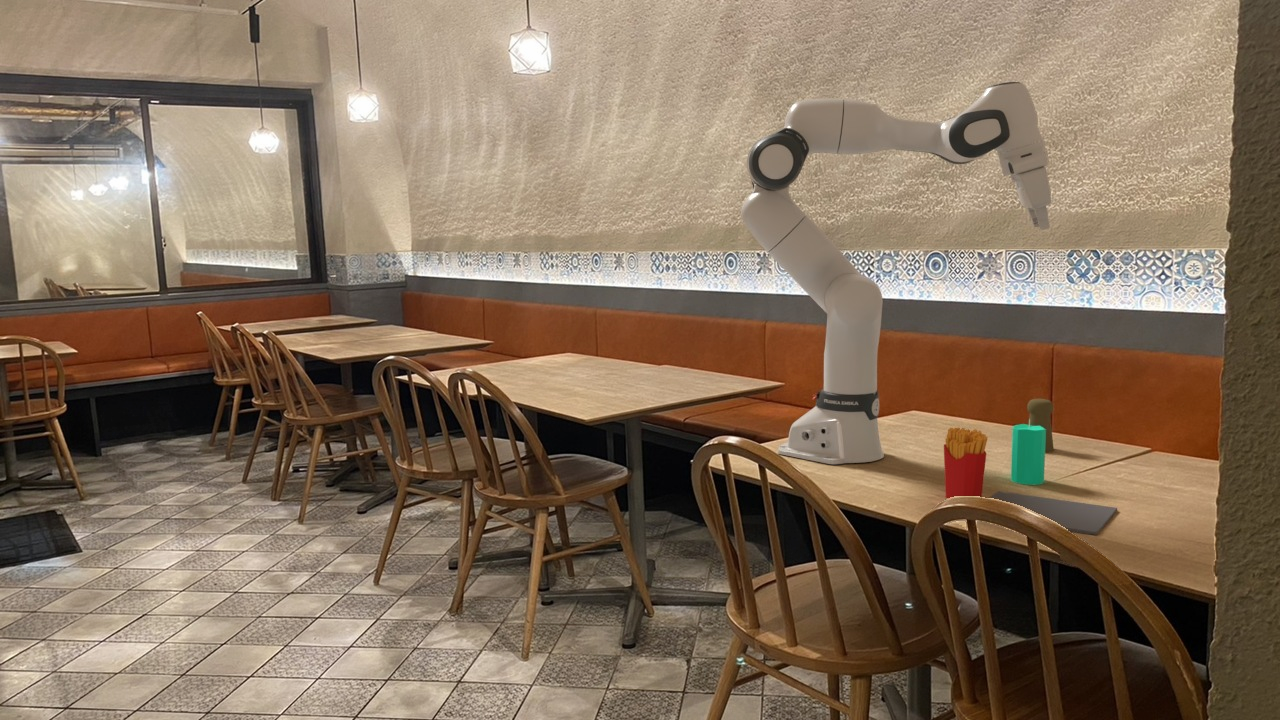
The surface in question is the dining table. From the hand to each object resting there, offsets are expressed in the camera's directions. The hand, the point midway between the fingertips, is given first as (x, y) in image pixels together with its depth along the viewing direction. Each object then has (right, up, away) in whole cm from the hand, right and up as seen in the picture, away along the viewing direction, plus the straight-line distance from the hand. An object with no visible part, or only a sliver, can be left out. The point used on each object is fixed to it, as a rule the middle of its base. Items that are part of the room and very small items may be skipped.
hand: (1041, 227), depth 200 cm
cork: (+5, -46, +15) cm, 49 cm away
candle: (-7, -50, -11) cm, 52 cm away
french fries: (-23, -52, -23) cm, 62 cm away
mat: (-12, -53, -31) cm, 63 cm away
